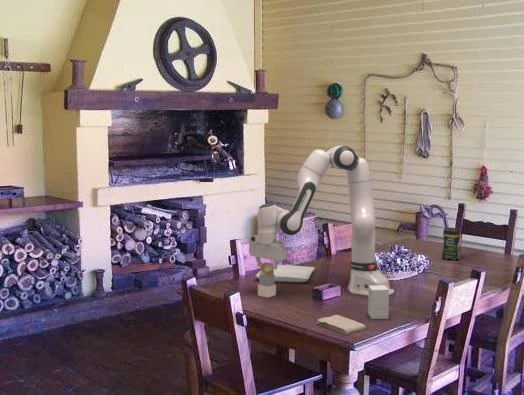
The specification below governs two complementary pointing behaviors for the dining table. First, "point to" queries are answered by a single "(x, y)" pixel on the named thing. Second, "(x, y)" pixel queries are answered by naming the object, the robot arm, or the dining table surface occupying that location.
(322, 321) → the washcloth
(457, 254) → the coffee jar
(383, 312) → the supplement box
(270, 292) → the tower base
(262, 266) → the beech cube
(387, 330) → the dining table surface
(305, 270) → the square plate
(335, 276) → the dining table surface
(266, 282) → the tower top
